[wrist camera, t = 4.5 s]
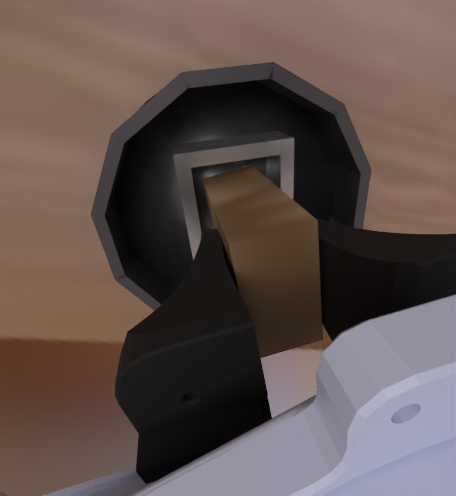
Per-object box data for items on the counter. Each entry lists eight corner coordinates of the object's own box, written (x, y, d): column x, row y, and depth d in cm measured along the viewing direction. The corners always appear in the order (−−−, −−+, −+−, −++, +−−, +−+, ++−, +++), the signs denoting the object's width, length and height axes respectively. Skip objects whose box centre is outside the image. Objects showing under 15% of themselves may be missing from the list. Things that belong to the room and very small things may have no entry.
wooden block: (252, 165, 13) (317, 220, 7) (265, 249, 15) (322, 339, 10) (201, 178, 13) (228, 244, 7) (222, 261, 15) (254, 359, 10)
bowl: (352, 54, 13) (391, 47, 11) (330, 277, 19) (351, 301, 17) (65, 85, 12) (41, 85, 9) (142, 314, 18) (139, 347, 16)
